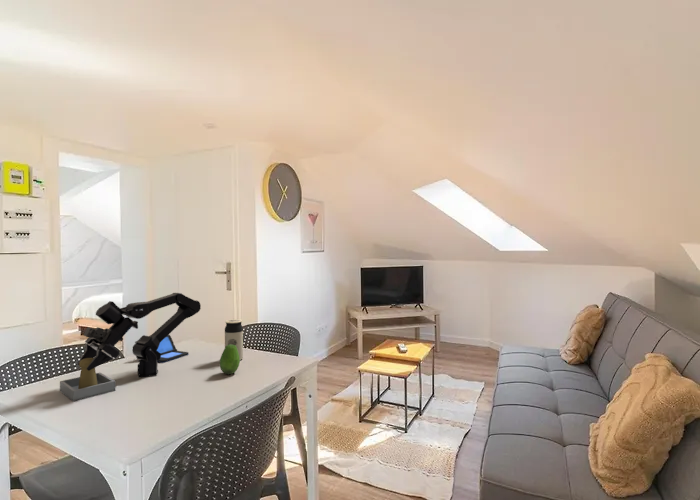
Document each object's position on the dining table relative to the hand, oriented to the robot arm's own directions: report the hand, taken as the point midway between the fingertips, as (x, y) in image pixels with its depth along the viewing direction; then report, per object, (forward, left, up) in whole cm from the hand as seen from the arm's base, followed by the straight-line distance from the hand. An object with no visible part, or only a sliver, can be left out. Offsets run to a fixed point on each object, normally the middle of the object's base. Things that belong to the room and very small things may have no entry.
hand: (83, 367), depth 134 cm
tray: (-1, -1, -9) cm, 9 cm away
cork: (-1, -1, -8) cm, 8 cm away
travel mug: (-53, -22, -9) cm, 58 cm away
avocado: (-50, -2, -9) cm, 51 cm away
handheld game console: (-24, -38, -9) cm, 46 cm away
